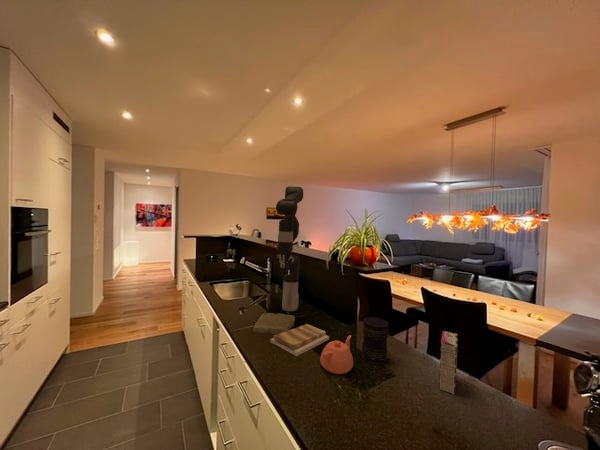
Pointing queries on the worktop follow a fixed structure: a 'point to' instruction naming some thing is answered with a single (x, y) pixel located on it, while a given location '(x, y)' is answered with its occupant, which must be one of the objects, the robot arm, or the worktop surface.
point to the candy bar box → (448, 362)
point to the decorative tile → (274, 323)
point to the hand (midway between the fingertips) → (283, 275)
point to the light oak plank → (313, 330)
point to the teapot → (337, 357)
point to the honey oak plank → (295, 338)
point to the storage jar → (375, 340)
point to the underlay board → (302, 348)
